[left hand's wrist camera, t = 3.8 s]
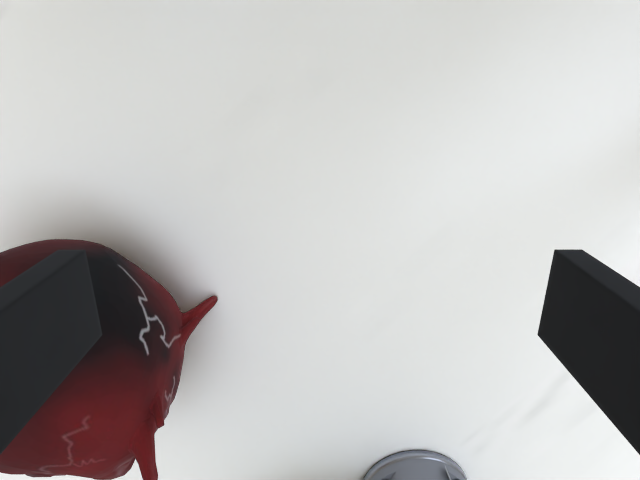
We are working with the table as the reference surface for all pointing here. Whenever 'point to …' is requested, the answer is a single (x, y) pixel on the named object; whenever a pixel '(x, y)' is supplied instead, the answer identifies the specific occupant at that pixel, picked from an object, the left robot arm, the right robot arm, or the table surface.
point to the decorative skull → (106, 373)
